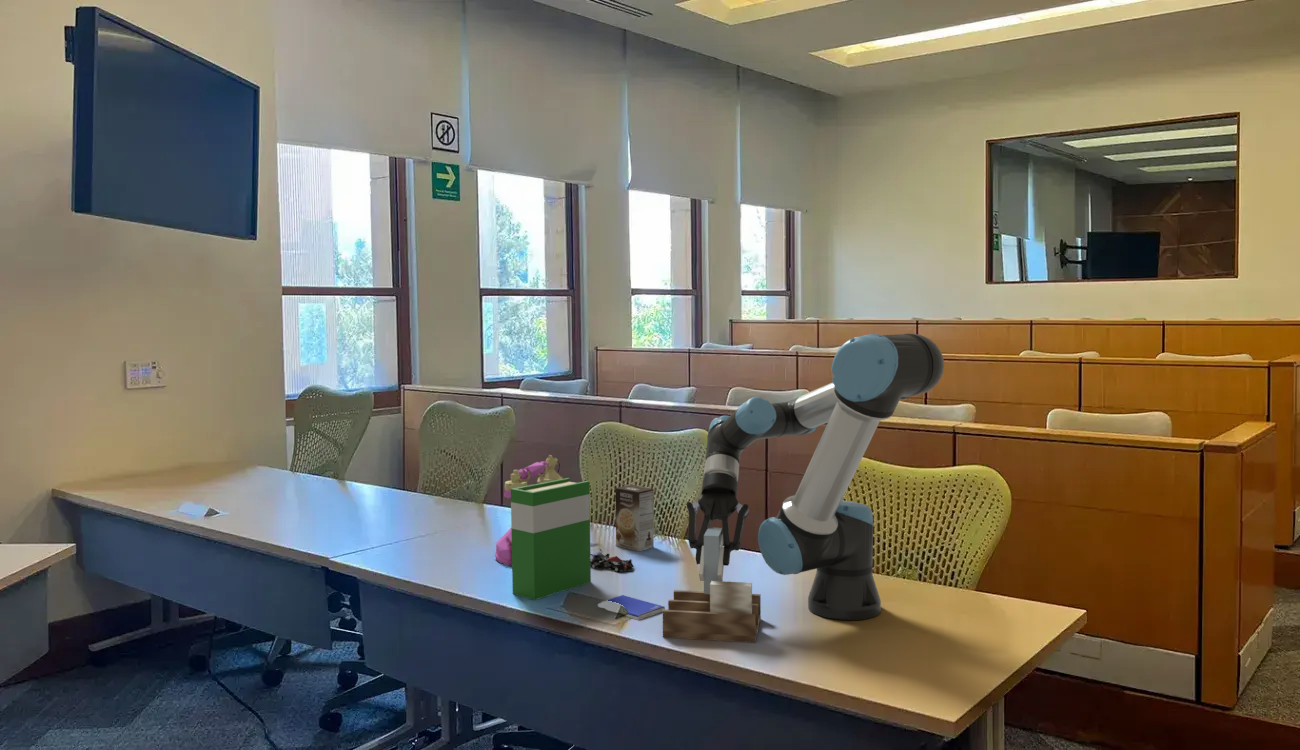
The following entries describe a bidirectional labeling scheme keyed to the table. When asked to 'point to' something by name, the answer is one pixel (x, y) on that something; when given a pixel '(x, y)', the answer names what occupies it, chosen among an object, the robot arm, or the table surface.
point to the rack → (714, 613)
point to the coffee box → (635, 517)
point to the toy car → (610, 563)
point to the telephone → (505, 542)
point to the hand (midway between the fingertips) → (710, 577)
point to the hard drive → (638, 607)
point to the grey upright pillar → (711, 555)
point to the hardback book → (550, 537)
